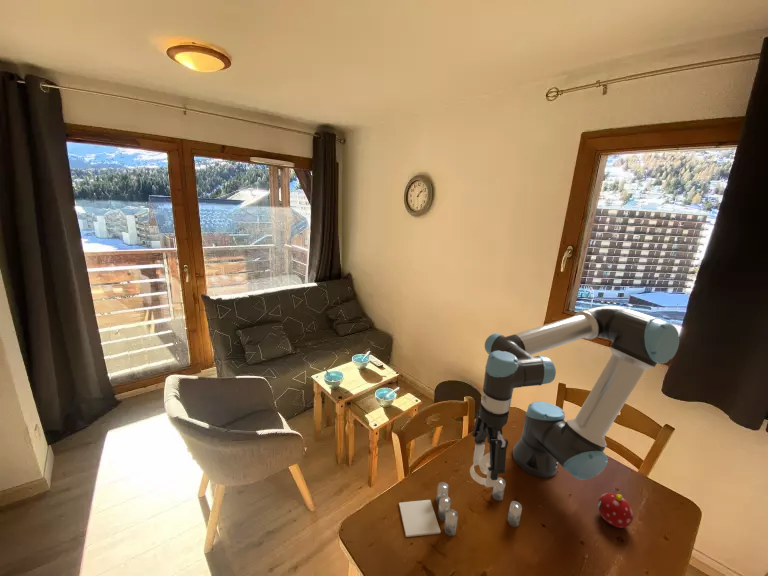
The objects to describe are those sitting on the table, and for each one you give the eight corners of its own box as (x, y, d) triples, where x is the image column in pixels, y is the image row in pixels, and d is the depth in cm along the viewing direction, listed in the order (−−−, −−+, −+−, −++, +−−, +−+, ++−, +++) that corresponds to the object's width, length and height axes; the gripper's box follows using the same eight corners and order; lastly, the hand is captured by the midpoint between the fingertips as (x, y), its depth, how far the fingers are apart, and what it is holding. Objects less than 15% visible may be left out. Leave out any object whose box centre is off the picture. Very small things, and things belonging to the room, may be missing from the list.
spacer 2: (446, 510, 97) (448, 494, 95) (449, 520, 94) (452, 504, 92) (436, 511, 96) (438, 495, 95) (439, 521, 93) (441, 505, 92)
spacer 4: (499, 491, 104) (502, 476, 103) (504, 500, 101) (507, 485, 100) (490, 492, 104) (493, 477, 102) (495, 501, 101) (498, 486, 99)
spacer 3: (453, 524, 92) (455, 508, 91) (457, 535, 89) (459, 519, 88) (442, 525, 92) (445, 509, 90) (446, 536, 89) (448, 520, 87)
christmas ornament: (633, 539, 91) (642, 512, 89) (599, 528, 94) (607, 501, 92) (623, 513, 99) (631, 488, 97) (591, 503, 102) (599, 478, 99)
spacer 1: (444, 496, 101) (446, 481, 100) (447, 505, 98) (450, 490, 97) (434, 497, 101) (436, 482, 99) (438, 506, 98) (440, 491, 96)
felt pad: (430, 501, 99) (430, 499, 99) (440, 533, 90) (440, 531, 90) (398, 504, 98) (399, 502, 97) (406, 537, 88) (406, 535, 88)
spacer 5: (514, 515, 96) (518, 500, 95) (520, 526, 93) (524, 510, 92) (505, 517, 96) (508, 501, 94) (511, 527, 93) (514, 511, 91)
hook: (521, 473, 88) (505, 464, 85) (489, 494, 92) (473, 487, 89) (509, 448, 94) (494, 440, 92) (480, 469, 98) (464, 462, 96)
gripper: (466, 385, 96) (458, 448, 102) (500, 433, 76) (487, 507, 83) (489, 384, 97) (480, 446, 103) (529, 431, 78) (514, 504, 84)
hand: (483, 473), depth 93 cm, fingers closed on hook, 8 cm apart
